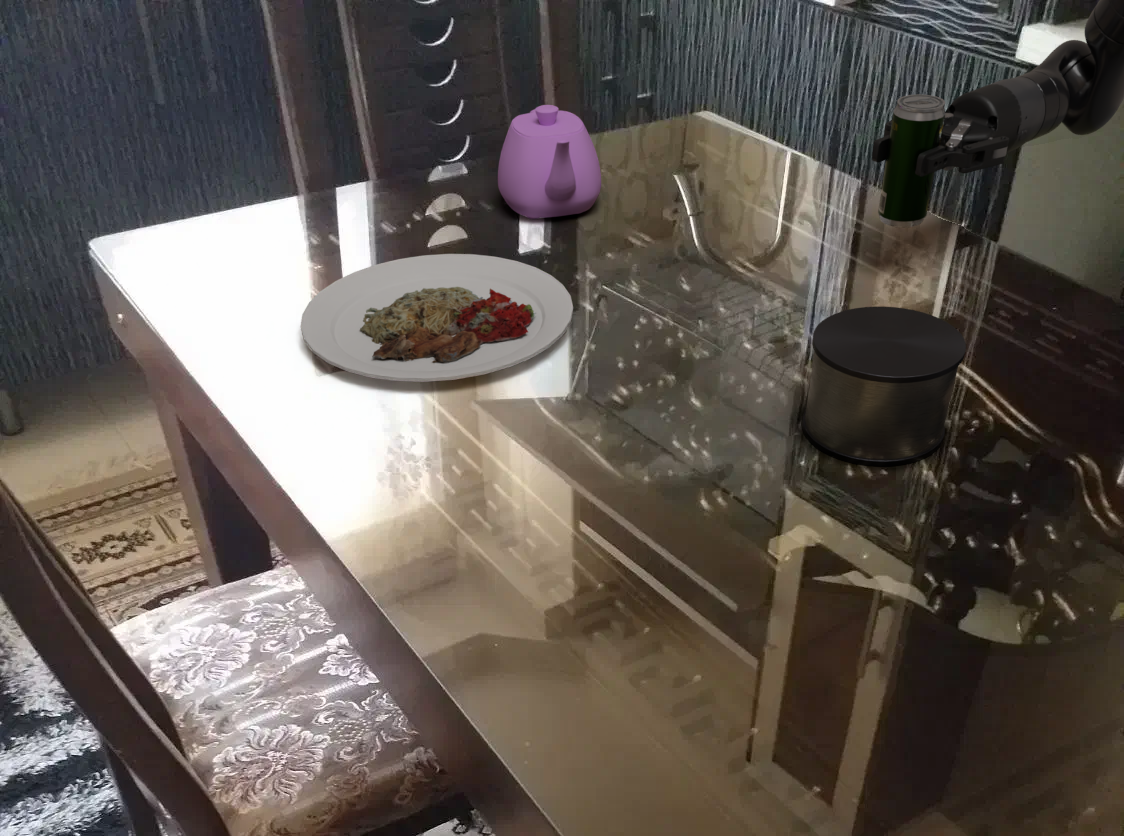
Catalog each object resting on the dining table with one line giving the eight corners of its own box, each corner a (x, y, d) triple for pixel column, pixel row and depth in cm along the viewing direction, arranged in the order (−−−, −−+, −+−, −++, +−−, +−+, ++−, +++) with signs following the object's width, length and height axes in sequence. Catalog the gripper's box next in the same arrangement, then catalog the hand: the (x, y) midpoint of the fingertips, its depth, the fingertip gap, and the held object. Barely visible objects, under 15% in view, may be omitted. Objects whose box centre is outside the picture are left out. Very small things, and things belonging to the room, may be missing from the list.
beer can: (888, 231, 127) (907, 112, 119) (869, 212, 131) (886, 96, 122) (933, 225, 128) (956, 107, 119) (913, 207, 131) (934, 91, 123)
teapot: (488, 186, 156) (481, 91, 148) (583, 175, 158) (582, 80, 150) (517, 244, 143) (511, 143, 134) (620, 232, 144) (621, 131, 136)
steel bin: (928, 391, 115) (947, 304, 109) (959, 466, 106) (982, 375, 99) (792, 394, 116) (803, 307, 109) (811, 468, 106) (824, 378, 100)
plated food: (277, 299, 134) (271, 270, 132) (517, 251, 141) (516, 223, 139) (341, 420, 114) (336, 389, 112) (616, 358, 122) (616, 327, 119)
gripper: (948, 70, 132) (850, 105, 124) (1058, 98, 124) (959, 137, 116) (936, 141, 137) (840, 178, 130) (1039, 172, 129) (944, 213, 122)
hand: (897, 158), depth 123 cm, fingers closed on beer can, 5 cm apart
